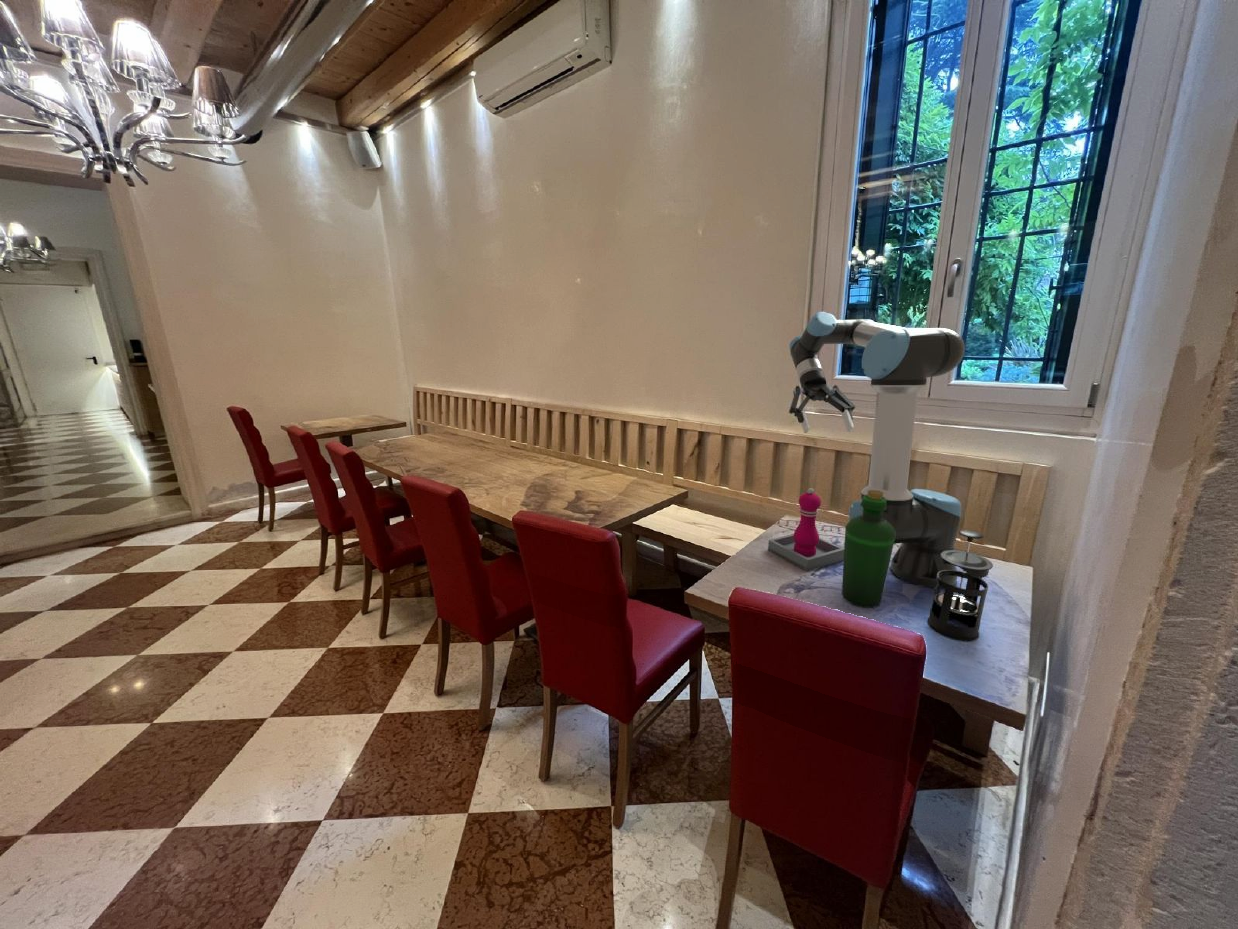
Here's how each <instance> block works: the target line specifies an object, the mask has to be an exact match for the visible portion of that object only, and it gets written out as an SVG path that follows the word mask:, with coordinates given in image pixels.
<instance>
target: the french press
mask: <svg viewBox="0 0 1238 929" xmlns="http://www.w3.org/2000/svg"><path fill="white" fill-rule="evenodd" d="M958 534H959V535H961V536H964V537H965V538H966V537H967V539H966V541H967V542H968V543H967V547H966V548H967V549H966V551H965V550H959V549H958V550H956V549H954V550H947V551H943V552H942V553H941V558H942V565H946V564H952V565H954V566H956V568H957V567H958V568H960V569H961V570H962V571H961V570H957V571H955V570H943V571H939V572H938V573H937V577H936V587H935V588H934V594H933V599H932V604H931V607H930V612H929V615H928V616H929V617H928V618H927V622H926V623H927V625H928V626H929V628H930V629H931V630H932V631H933V632H935V633H936V634H939V635H940V636H943V637H945V638H947V639H951V640H953V641H958V642H974V641H977V640H978V639H979V638H980V631H979V630H980V627H981V620H982V616H983V611H984V607H985V601H986V597H987V593H988V591H989V590H988V589H989V584H988V582H986V581H985V580H984V579H983V578H986V577H987V576H989V572H990V570H992V569H993V566H994V564H993V562H992V561H991V560H990V559H988V558H986V557H983V555H982V556H981V555H979V554H976V553H973V552H970V548H971V543H973V542H974V539H975V540H976V539H978V540H979V539H983V538H985V537H984V535H983V534H982V533H980V532H978V531H974V530H969V529H968V530H967V529H960V530H958ZM942 576H957V578H961V580H960V583H959V586H955V585H954V586H952V585H950V584H948V583H946V582H944V581H943V580H942ZM964 579H966V580H967V581H966V584H965V585H966V586H965V588H962V586H963V581H964ZM981 586H982V587H983V589H981ZM940 587H943V588H942V589H944V590H943V591H944V592H941V593H940V591H941V588H940ZM978 598H979V602H978ZM949 620H951V621H955V622H959V623H960V624H963V625H964V626H962V625H956V624H954V623H951V622H949Z"/></svg>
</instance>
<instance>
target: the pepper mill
mask: <svg viewBox="0 0 1238 929" xmlns="http://www.w3.org/2000/svg"><path fill="white" fill-rule="evenodd" d="M821 503H822V500H821V497H820V496H819V495H818V494H816V493H815V490H814V488H812V487H809V488H808V489H807V492H804V493H802V494H801V495H800V496H799V497H798V504H799V506H800V508H799V511H798V512H799V514H800V520H799V523H798V525H797V527H796V528H795V530H794V532H793V534H794V535H793V540H794V542H795V544H794V551H795V552H797V553H799V554H801V555H803V556H814V555H815V554H816V549H817V548H816V545H817V544H818V543H819V538H820V534H819V531H818V529H817V526H816V517H817V516H818V515H819V510H818V509H820V507H821V506H822V504H821Z"/></svg>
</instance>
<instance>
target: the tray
mask: <svg viewBox="0 0 1238 929" xmlns="http://www.w3.org/2000/svg"><path fill="white" fill-rule="evenodd" d="M793 535H794V533H792V534H787V535H784V536H779V537H776V538H772V539H768V546H767V551H768V552H770V553H771V554H773V555H775V556H777V557H779V558H780V559H782V560H784V561H786V562H788V563H790V564H791V565H794V566H795V567H797V568H799V569H801V570H803V571H805V572H810V571H812V570H817V569H820V568H823V567H826V565H827V566H829V565H834V564H837V563H839V562H838V561H840V562H844V547H841V546H840V545H837V544H835V543H833V542H830V541H828V540H825V539H823V538H821V537H819V543H818V544H817V545H816V548H817V549H816V554H815V555H814V556H803V555H801V554H799V553H797V552H795V551H794V544H795V542H794V540H793ZM836 562H837V563H836Z"/></svg>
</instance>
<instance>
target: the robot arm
mask: <svg viewBox="0 0 1238 929" xmlns="http://www.w3.org/2000/svg"><path fill="white" fill-rule="evenodd" d="M845 344H846V345H854V346H859V347H863V348H864V350H863V354H862V357H861V368H862V370H863V373H864V375H865V376H866V377H867V378H869V379H870V387H871V388H873V390H874V391H875V392H876V401H875V412H874V422H873V433H872V444H871V454H870V466H869V476H868V484H867V486H865V487H863V489H861V493H860V499H857V500H855V501H853V503H852V504H850V507H849V510H848V511H849V512H848V517H849V521H850V520H851V519H852V518H854V517H856V516H859V515H863V507H862V506H861V502H862V500H863V497H864V495H868V491H869V490H877V491H881V492H883V496H882V497H885V498H886V502H887V509H886V510H884V511H883V515H882V518H884V519H885V520H886V521H888V522H889V523H890V524H891V525H892V526H893V527H894V529H895V531H896V536H895V540H894V545H895V544H899V547H898V549H897V550H896V552H895V553H894V555H893V557H892V558H891V560H890V567H891V568H890V570H892V571H891V572H892V573H893V574H894V575H895V574H896V575H897V576H896V575H895V576H896V577H898V576H899V577H898V578H900V579H901V578H902V580H903V579H904V580H903V581H905V582H908V583H911V584H914V585H917V586H922V587H926V588H933V589H935V587H936V577H937V573H938V572H939V571H943V570H955V571H958V570H957V566H954V565H952V564H946V565H942V558H941V553H942V552H943V551H947V550H955V545H956V542H957V536H958V533H959V525H960V521H961V517H962V514H961V513H962V503H961V501H960V500H959V499H957V498H956V497H954V496H952V495H948V494H945V493H942V492H940V491H939V492H938V491H935V490H931V489H930V490H929V489H923V488H921V489H920V488H913V489H911V490H909V489H908V484H909V475H910V474H909V473H910V466H911V464H910V463H911V455H912V449H913V448H912V446H913V439H914V428H915V422H916V421H915V420H916V413H917V412H916V411H917V403H918V393H919V392H920V391H921V390H923V389H924V388H925V387H926V386H927V381H928V380H927V378H934V377H940V376H943V375H946V374H947V373H950V372H952V371H953V370H954V369H955V368H957V367H958V365H959V364H960V363H961V361H962V360H963V359H964V355H965V349H966V348H965V342H964V340H963V338H962V337H961V335H960V334H959V333H957V332H956V331H954V330H951V329H949V328H944V327H943V328H942V327H930V328H929V327H928V328H927V327H902V326H898V325H897V326H896V325H891V324H886V323H879V322H875V321H874V320H872V319H866V318H859V319H837V318H836V317H835V315H833V314H832V313H827V312H826V311H818V312H816V313H814V315H813V316H812V317H811V319H809V321H808V322H807V324H806V327H805V329H804V331H803V333H802V334H800V335H797V336H796V337H794V338H793V339H792V340H791V341H790V342H789V351H790V356H791V359H792V362H793V364H794V367H795V371H796V373H797V376H798V380H799V383H800V385H796V386H795V388H794V390H793V398H792V401H791V405H790V408H789V411H788V413H789V414H792V415H793V414H794V417H796V418H797V421H798V423H799V424H801V426H802V431H803V432H804V433H803V434H807V433H808V432H809V430H810V429H811V426H810V424H809V420H808V416H807V414H806V410H804V408H805V407H806V405H807V404H808V402H809V401H810V400H811V401H812V402H816V401H820V402H821V401H823V402H824V403H828V404H830V406H832V407H833V408H835V409H837V410H838V411H839V412H841V417H842V420H843V423H844V425H845V428H846V431H847V432H846V433H850V432H852V430H853V429H854V428H855V426H854V423H853V420H854V417H853V414H852V412H853V411H854V410H855V409H856V405H855V404H854V403H853V402H852V401H851V400H850V399H849V398H848V396H846V395H845V394H844V393H843V392H842V390H840V388H839V386H838V385H837V384H834V385H833V386H832V387H831V386H830V387H829V386H828V384H827V380H826V376H825V374H824V370H823V367H822V365H821V362H820V360H819V356H818V354H819V352H820V351H821V349H822V348H823V347H824V346H825V345H845ZM801 394H803V395H804V396H806V397H805V398H804V400H802V402H801V403H800V404H799V406H798V407H797V404H798V402H799V398H800V395H801ZM957 579H958V577H957V576H942V580H943V581H944V582H946V583H948V584H950V585H952V586H955V585H956V584H957ZM940 589H944V588H943V587H940Z"/></svg>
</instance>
